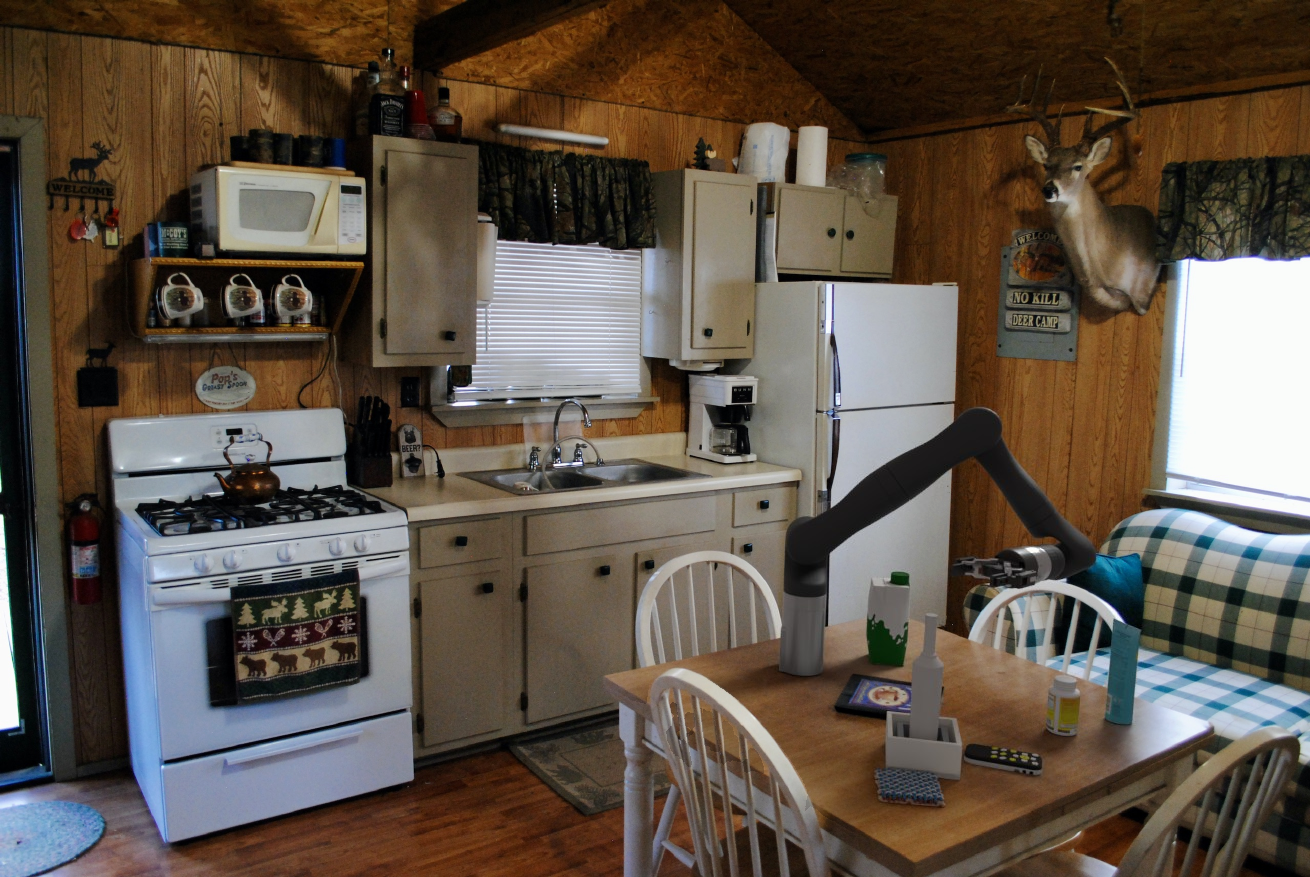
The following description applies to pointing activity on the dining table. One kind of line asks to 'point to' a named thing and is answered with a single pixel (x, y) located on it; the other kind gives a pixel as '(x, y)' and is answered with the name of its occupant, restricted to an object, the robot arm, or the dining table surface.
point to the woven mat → (909, 787)
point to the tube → (1122, 673)
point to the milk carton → (888, 619)
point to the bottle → (926, 686)
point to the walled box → (923, 748)
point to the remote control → (1003, 759)
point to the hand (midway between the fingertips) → (971, 576)
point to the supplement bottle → (1063, 706)
